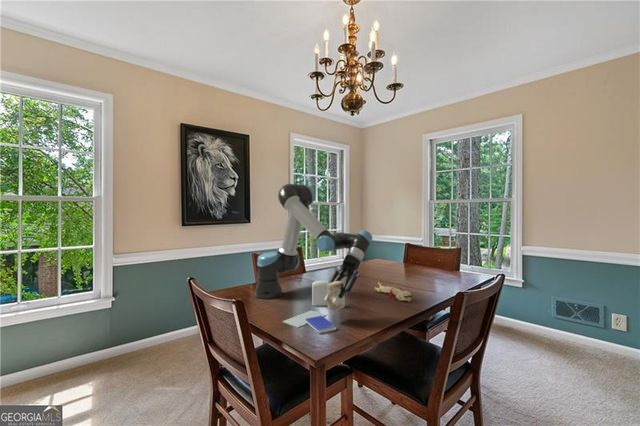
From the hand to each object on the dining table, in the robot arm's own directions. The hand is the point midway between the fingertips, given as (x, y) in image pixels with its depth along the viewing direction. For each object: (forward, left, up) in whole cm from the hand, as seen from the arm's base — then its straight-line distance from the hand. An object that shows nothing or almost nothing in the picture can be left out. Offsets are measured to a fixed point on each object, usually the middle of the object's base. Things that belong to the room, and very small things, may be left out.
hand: (330, 302), depth 129 cm
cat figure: (+2, +51, -9) cm, 51 cm away
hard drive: (-1, -6, -9) cm, 10 cm away
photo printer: (-18, +15, -9) cm, 25 cm away
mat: (-12, -4, -9) cm, 15 cm away
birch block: (0, +4, -3) cm, 5 cm away
